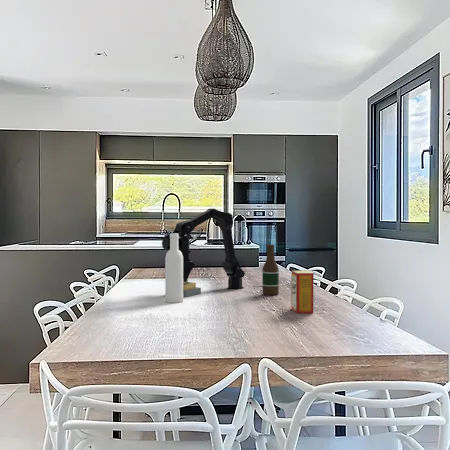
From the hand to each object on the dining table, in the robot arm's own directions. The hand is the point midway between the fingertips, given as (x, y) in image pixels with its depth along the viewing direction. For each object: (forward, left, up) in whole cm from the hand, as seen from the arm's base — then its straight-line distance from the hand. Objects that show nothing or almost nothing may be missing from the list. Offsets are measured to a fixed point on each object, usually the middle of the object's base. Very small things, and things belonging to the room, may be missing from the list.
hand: (183, 281), depth 233 cm
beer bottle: (-35, -23, -7) cm, 42 cm away
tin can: (0, 0, -2) cm, 2 cm away
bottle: (-8, +17, -7) cm, 20 cm away
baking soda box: (-64, +6, -7) cm, 65 cm away
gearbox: (+1, 0, -7) cm, 7 cm away
